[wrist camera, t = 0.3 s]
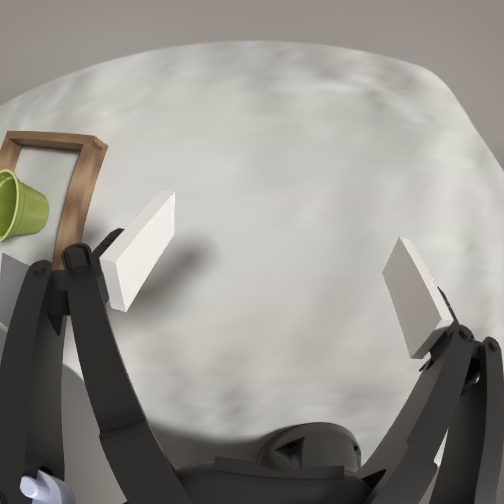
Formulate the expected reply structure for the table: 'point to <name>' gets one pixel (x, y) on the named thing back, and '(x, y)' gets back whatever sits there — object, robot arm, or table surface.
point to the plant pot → (20, 207)
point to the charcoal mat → (10, 286)
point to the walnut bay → (80, 182)
